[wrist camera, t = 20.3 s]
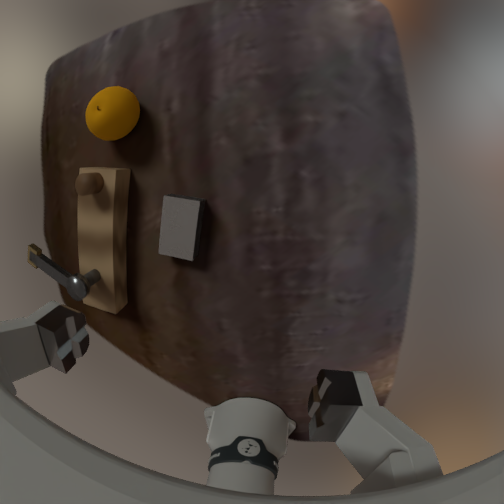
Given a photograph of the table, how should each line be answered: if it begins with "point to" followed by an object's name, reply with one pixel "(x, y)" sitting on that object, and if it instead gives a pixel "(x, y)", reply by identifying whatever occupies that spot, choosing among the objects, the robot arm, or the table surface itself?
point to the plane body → (103, 235)
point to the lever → (59, 273)
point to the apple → (112, 113)
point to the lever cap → (181, 226)
